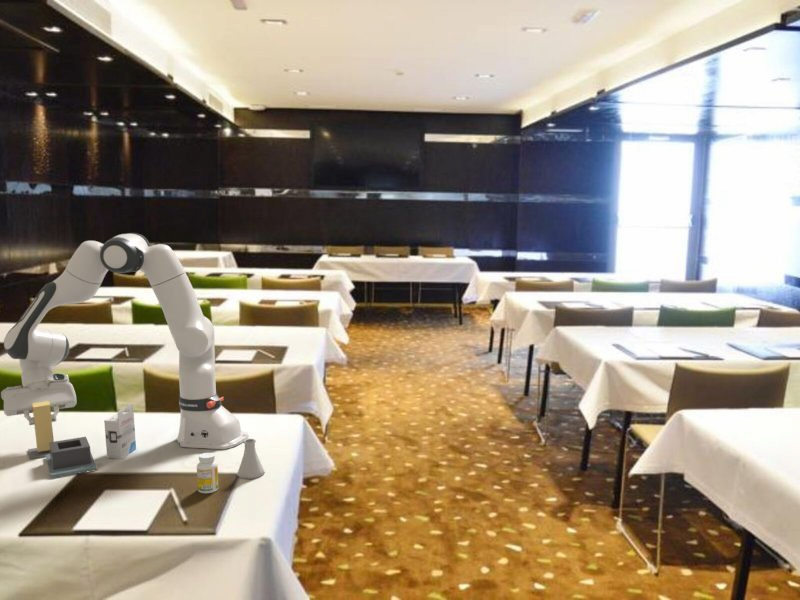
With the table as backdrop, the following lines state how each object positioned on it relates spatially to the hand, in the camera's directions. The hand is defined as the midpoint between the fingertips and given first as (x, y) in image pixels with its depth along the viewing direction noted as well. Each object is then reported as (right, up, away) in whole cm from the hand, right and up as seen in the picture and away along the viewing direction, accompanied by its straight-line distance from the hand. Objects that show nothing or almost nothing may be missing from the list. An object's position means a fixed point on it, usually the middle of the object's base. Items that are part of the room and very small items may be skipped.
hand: (43, 422), depth 228 cm
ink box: (+24, -10, 0) cm, 26 cm away
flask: (+66, -12, -17) cm, 69 cm away
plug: (0, -8, +2) cm, 8 cm away
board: (+12, -11, -8) cm, 18 cm away
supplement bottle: (+57, -14, -27) cm, 65 cm away
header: (+12, -11, -8) cm, 18 cm away
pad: (0, -9, +2) cm, 10 cm away
